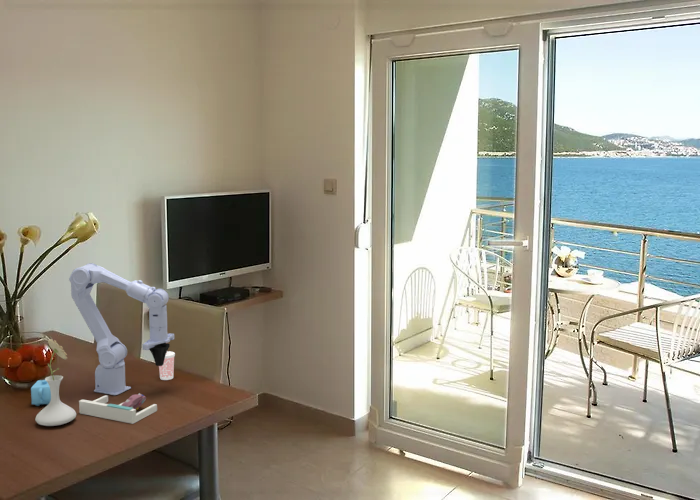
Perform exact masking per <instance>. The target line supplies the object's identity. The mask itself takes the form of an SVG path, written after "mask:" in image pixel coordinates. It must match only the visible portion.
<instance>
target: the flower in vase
mask: <svg viewBox="0 0 700 500" xmlns="http://www.w3.org/2000/svg"><path fill="white" fill-rule="evenodd" d="M47 343H48V345H49V347H50V348H51V350H52V351H53V353H52V355H51V357H50V361H49V363H47V367H48V368H49V369H50V374H51V375H50V376H46V377H45V378H44V380H46V381H47V382H48V384H49V387H50V391H51V401H50V403H49V404H48V405H47V404H46V406H45V407H43V408H42V410H39V412H38V413H37V414H36V416H35V423H37V424H38V425H40V426H45V427H54V426H61V425H64V424H67V423H69V422H72V421H73V420H75V418H76V417H77V412H76V410H75V409H74V408H73V407H71V406H69V405H68V404H66V403H64V402H62V401H61V399H60V385H61V382H62V381H63V379H64V376H63V375H61V374H60V375H59V374H58V375H57V374H55V375H54V372H56V371H58V370H60V368H59V367H57V368H56V369H55V370H54V369H52V361H53V358H54V356H55V354H56V355H57V356H58V357H60V358H61V359H63V360H68V357H67V356H68V354H67V353H66V352H65V349H64V347H63V346H62V345H60V344H58V342H57V340H55V339H54V340H53V338H50V339H48V340H47Z"/></svg>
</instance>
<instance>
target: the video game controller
mask: <svg viewBox="0 0 700 500" xmlns="http://www.w3.org/2000/svg"><path fill="white" fill-rule="evenodd" d="M146 399H147V396H145V395H144V394H142V393H140V392H139V393H138V394H131V396H129V398H127V399H126V400H125V401H123V402H124V403H123V402H122V403H123V404H122V405H121V406H126V407H131V408H133V409H136V412H138V411H139V409H140V407H141V406H142V405H143V404H144V403H145V402H146Z"/></svg>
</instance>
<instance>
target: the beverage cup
mask: <svg viewBox="0 0 700 500" xmlns="http://www.w3.org/2000/svg"><path fill="white" fill-rule="evenodd" d="M175 356H176V353H175V352H174V351H170V350H169V351H168V350H167V353H166V355H165V359H164V364H163V365H162V366H158V369H159V370H158V371H159V378H160V380H162V381H169V380H172V379H174V369H175V366H174V365H175Z"/></svg>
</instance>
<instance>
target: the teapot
mask: <svg viewBox="0 0 700 500" xmlns="http://www.w3.org/2000/svg"><path fill="white" fill-rule="evenodd" d="M30 394H31V395H30V397H31V398H30V399H31V405H35V406H36V407H39V406H40V405H46V406H47V405H48V404H49V403H50V401H51V391H50V387H49V384H48V382H47V381H46V380H45V379H39V380H37V381H36V382H35V383H34V384H33V385H32V386H31V387H30Z"/></svg>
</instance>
